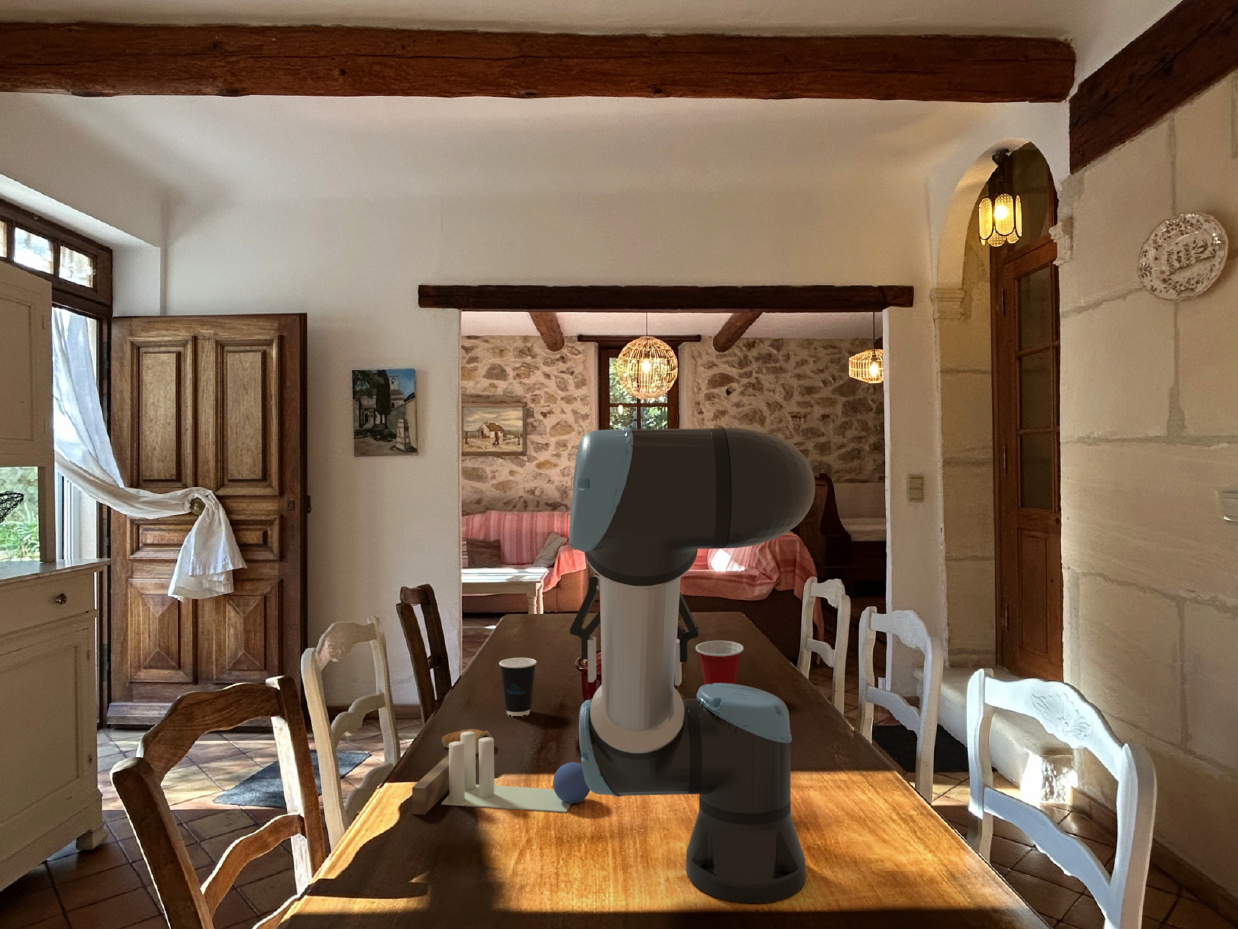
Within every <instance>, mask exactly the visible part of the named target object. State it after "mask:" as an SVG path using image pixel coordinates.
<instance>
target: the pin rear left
mask: <svg viewBox="0 0 1238 929" xmlns="http://www.w3.org/2000/svg"><path fill="white" fill-rule="evenodd" d="M460 741H461V742H464V752H465V791H469V790H473V789H475V788H476V784H477V782H476V780H477V779H476V778H477V776H476V773H477V770H476V768H477V767H476V765H477V764H476V763H477V761H476V759H477V758H476V757H477V755H476V746H475V732H472V731H467V732H462V733H461V734H460Z"/></svg>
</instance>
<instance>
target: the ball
mask: <svg viewBox="0 0 1238 929" xmlns="http://www.w3.org/2000/svg"><path fill="white" fill-rule="evenodd" d="M552 785H553V786H552V787H553V789H554V791H555V793H556V795H557V796H558V797H559V798H560V799H561V800H562V801H564V802H566V803H572V804H578V803H580V802H582V801H583V800H585V799H586V798H587V797H588V795H589V793H590V792H591V790H590V789H589V788H588V786H587V784H586V781H585V778H584V774H583V769H582V763H579V762H574V761H573V762H572V761H571V762H567V763H564V764H563V765H561V766H560V767H558V769H557V771H555V773H554V776H553V782H552Z"/></svg>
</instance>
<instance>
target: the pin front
mask: <svg viewBox="0 0 1238 929" xmlns="http://www.w3.org/2000/svg"><path fill="white" fill-rule="evenodd" d="M478 785H479V797H481V798H491V797H493V796H494V786H495V738H494V737H492V738H489V737H486V738H481V739H479V754H478Z"/></svg>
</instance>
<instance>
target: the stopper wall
mask: <svg viewBox="0 0 1238 929" xmlns="http://www.w3.org/2000/svg"><path fill="white" fill-rule="evenodd" d="M448 791H449V753H448V754H447V755H445V757H443V759H442V760H440V761H439V762H438V763H437V764H436V765H435V766H434V767H432V769H430V770H429V771H428V772H427V773H426V774H425V775H424V776H423V777H422V778H421V779H420V780H419V781H417V782H416V783H415V784H414V785H413V786H412V787H411V794H412V795H411V797H412V798H411V802H412V804H411V805H412V806H411V807H412V809H411V811H412V813H411V814H412V815H420V816H421V815H422V816H425V815H426V814H427V813H428V812H430V810H431V809H432V808H433V807H434V806H435V805H436V804H438V802H439V801H440V800H441V799H442V798H443V796H445V795H446V793H447V792H448Z"/></svg>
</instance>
